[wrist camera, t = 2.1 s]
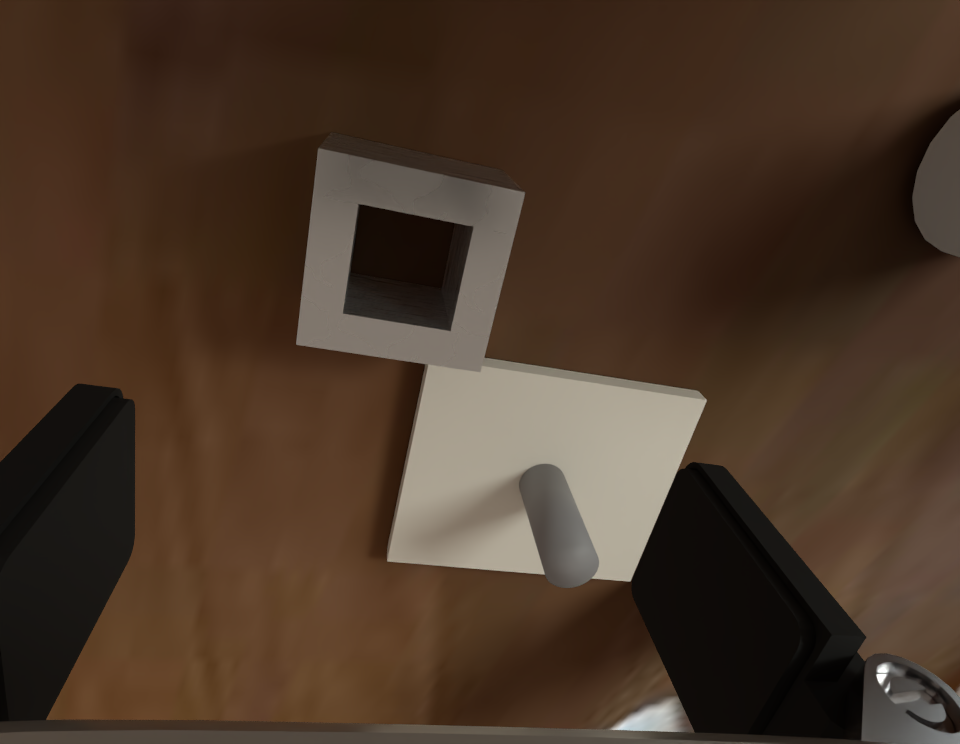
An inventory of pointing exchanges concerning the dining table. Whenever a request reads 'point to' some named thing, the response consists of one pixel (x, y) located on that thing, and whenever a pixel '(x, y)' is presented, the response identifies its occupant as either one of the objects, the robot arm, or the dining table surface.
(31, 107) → the dining table surface
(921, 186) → the can
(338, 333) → the grey hollow square block
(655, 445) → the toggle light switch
